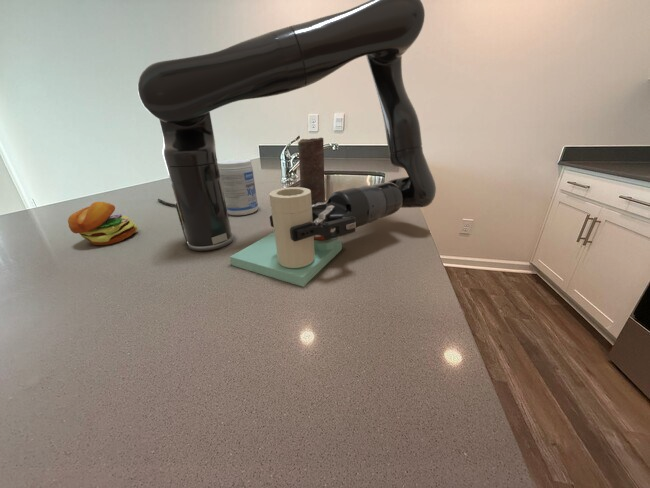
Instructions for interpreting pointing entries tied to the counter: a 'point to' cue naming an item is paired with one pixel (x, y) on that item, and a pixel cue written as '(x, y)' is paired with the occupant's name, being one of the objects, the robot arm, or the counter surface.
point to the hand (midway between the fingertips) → (280, 228)
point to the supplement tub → (238, 186)
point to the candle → (312, 167)
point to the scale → (265, 262)
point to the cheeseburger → (101, 224)
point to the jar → (286, 213)
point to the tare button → (320, 238)
